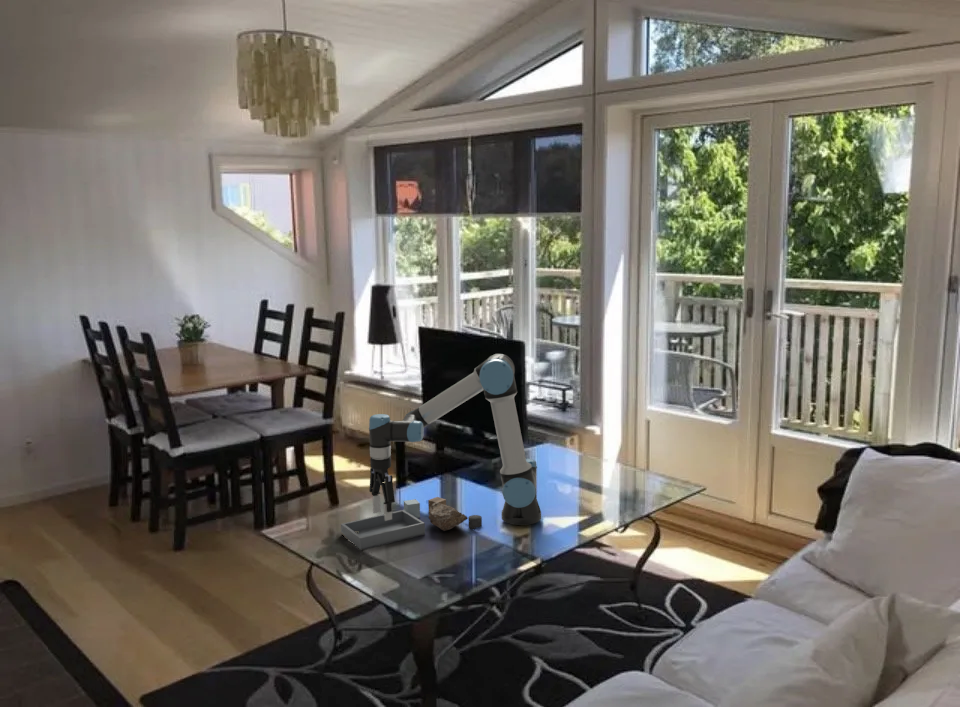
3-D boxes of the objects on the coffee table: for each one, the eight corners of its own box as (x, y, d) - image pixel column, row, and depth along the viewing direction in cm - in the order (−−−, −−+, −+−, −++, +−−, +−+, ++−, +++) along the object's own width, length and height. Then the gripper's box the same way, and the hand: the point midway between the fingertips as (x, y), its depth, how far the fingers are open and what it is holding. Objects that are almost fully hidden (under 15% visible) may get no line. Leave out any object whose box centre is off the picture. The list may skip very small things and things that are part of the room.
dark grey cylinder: (484, 528, 303) (484, 517, 302) (473, 531, 300) (473, 520, 300) (477, 524, 307) (476, 514, 307) (466, 526, 304) (465, 516, 304)
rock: (472, 522, 301) (461, 502, 297) (455, 541, 295) (443, 521, 291) (442, 515, 314) (431, 495, 310) (425, 532, 308) (413, 513, 304)
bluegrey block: (420, 517, 315) (419, 503, 314) (407, 519, 313) (407, 504, 312) (416, 513, 319) (415, 499, 318) (404, 515, 317) (403, 500, 316)
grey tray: (425, 534, 297) (424, 523, 296) (360, 550, 283) (360, 538, 282) (403, 520, 311) (403, 509, 310) (341, 535, 297) (340, 523, 297)
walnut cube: (446, 511, 321) (446, 499, 320) (437, 514, 318) (437, 502, 317) (437, 508, 325) (437, 496, 324) (428, 512, 321) (428, 500, 320)
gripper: (403, 462, 286) (405, 522, 289) (377, 448, 303) (378, 505, 307) (384, 465, 282) (386, 526, 285) (358, 451, 299) (360, 509, 303)
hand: (382, 515), depth 296 cm, fingers open, 9 cm apart
